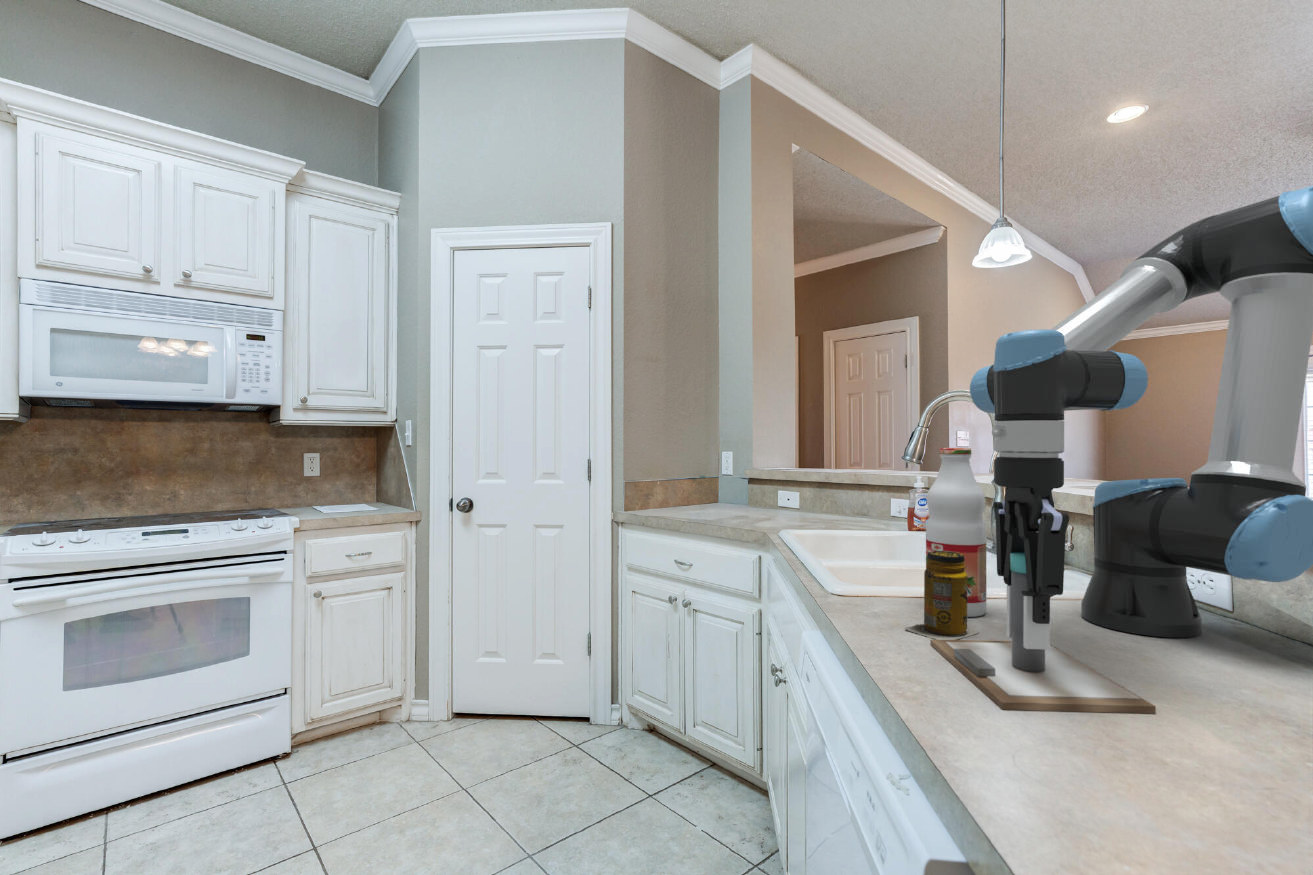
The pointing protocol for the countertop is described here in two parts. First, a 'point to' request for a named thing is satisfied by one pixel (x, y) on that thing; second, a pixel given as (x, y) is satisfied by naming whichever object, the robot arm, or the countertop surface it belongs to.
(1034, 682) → the clipboard
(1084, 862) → the countertop surface
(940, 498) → the fruit juice
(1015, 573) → the marker
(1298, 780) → the countertop surface
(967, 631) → the condiment
